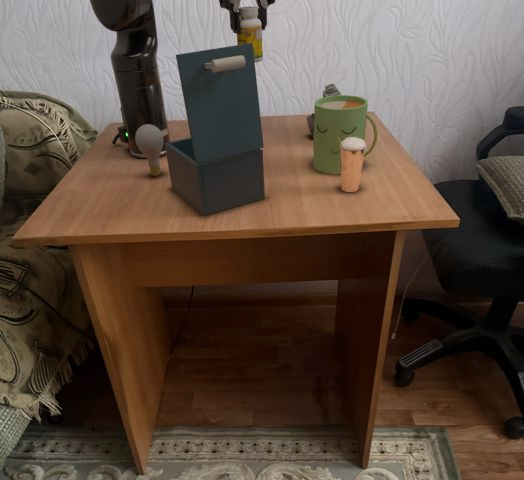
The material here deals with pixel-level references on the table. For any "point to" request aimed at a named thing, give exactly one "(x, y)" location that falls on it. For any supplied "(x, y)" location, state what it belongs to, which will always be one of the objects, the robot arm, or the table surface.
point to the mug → (338, 129)
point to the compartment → (215, 178)
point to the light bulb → (150, 145)
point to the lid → (221, 101)
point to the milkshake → (351, 162)
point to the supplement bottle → (251, 31)
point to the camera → (329, 91)
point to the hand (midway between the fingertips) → (249, 31)
